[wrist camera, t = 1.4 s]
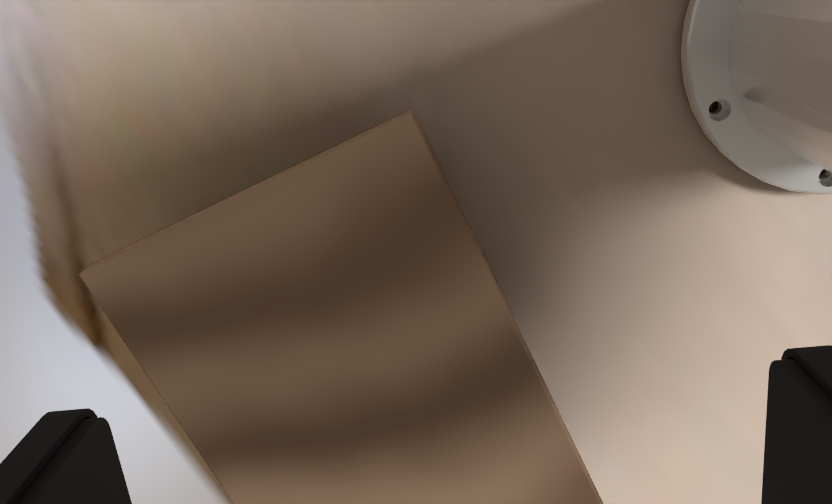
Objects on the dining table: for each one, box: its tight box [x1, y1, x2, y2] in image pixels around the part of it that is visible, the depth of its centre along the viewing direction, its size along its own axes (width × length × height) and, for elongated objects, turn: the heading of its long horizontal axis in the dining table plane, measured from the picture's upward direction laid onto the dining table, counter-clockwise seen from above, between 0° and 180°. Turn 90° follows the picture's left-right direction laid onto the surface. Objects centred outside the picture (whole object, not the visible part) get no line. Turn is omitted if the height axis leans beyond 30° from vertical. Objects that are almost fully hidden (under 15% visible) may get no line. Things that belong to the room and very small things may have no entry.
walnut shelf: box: [79, 109, 603, 504], centre depth 33 cm, size 20×14×6 cm
